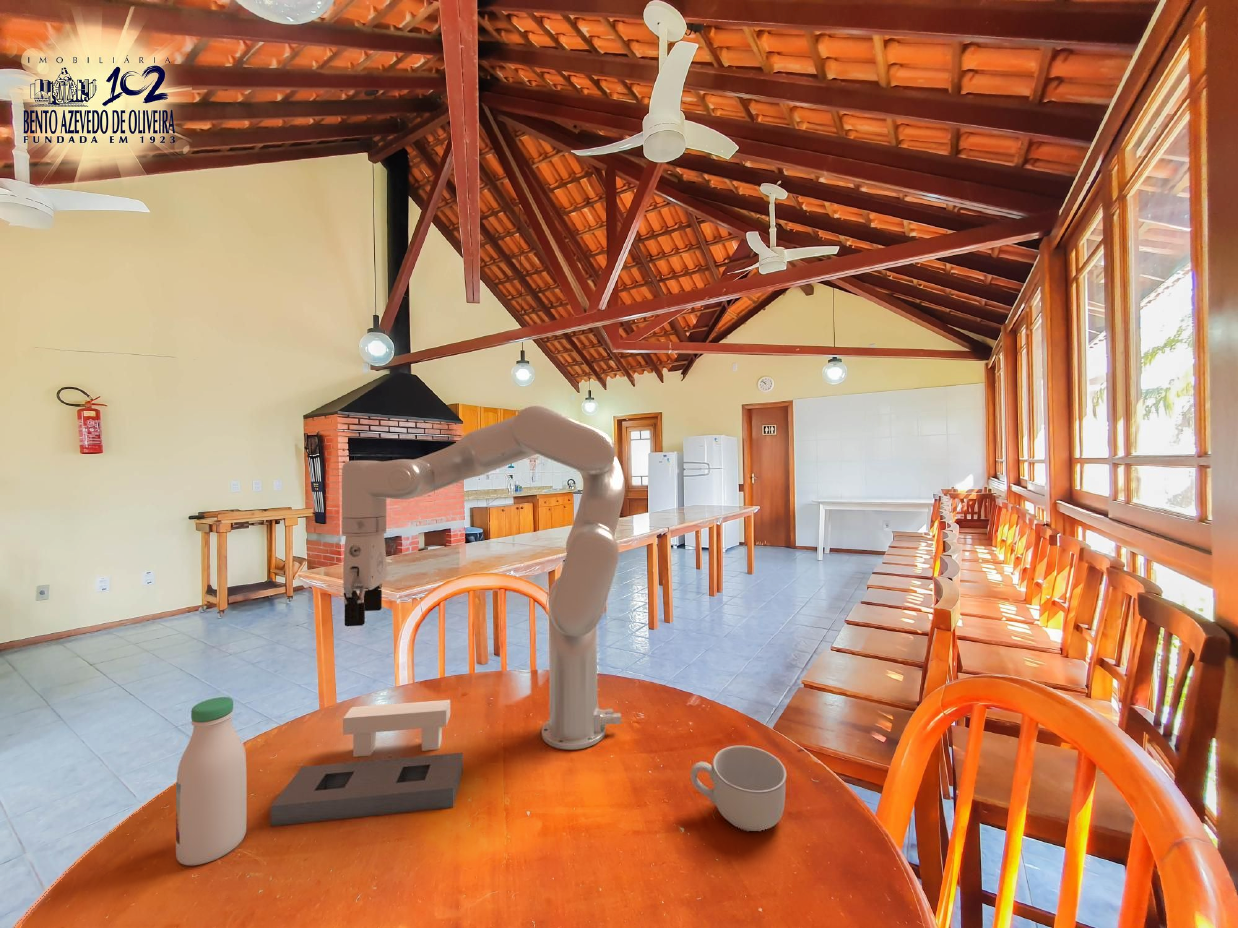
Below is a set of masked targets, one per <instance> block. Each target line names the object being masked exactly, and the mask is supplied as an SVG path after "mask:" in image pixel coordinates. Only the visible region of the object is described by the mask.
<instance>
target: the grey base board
mask: <svg viewBox="0 0 1238 928" xmlns="http://www.w3.org/2000/svg"><path fill="white" fill-rule="evenodd" d="M463 759H464V752H454V753H443V754H431V755H430V754H429V755H420V756H419V755H417V756H408V757H397V758H384V759H377V760H376V759H375V760H363V761H354V762H353V761H352V762H342V763H330V764H329V763H328V764H319V765H318V764H317V765H308V766H307V765H306V766H301V767H300V768H299V769H298V771H297V772H296V774H294V776H293V777H292V778H291V780H290V781H289V782H288V783H287V785H286V786H285V787H284V789H282V791H281V792H280V793H279V795H278V796H277V797H276V799H275V800H274V801H273V803H272V804H271V805H270V816H269V817H270V819H269V820H270V826H269V827H278V826H286V825H287V826H289V825H298V824H307V823H315V822H316V823H317V822H318V823H319V822H325V821H336V820H337V821H338V820H345V819H353V818H354V819H355V818H364V817H365V818H366V817H374V816H383V815H395V814H402V813H410V812H421V811H423V812H424V811H431V810H440V809H441V810H442V809H451V808H454V806H455V801H456V797H457V793H458V790H459V786H460V782H461V778H462V775H463V770H464V766H463V765H464V760H463Z"/></svg>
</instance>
